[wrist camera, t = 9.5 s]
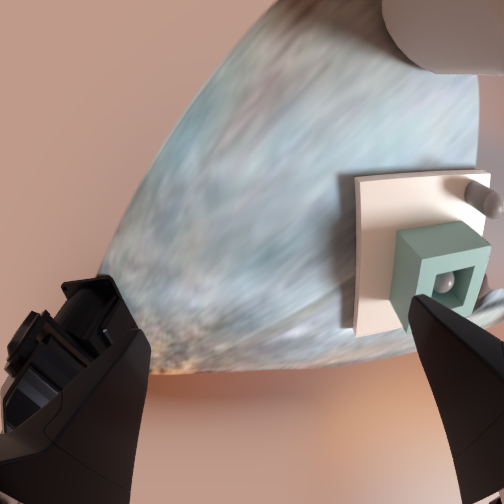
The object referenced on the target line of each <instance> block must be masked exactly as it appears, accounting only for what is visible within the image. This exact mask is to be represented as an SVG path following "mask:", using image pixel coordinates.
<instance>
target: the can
mask: <svg viewBox="0 0 504 504" xmlns="http://www.w3.org/2000/svg"><path fill="white" fill-rule="evenodd" d="M382 16H383V19H384V22H385V25H386V28H387V31H388V32H389V34H390V35H391V37H392V39H393V40H394V42H395V43H396V45H397V46H398V47H399V49H400V50H401V51H402V52H403V53H404V54H405V55H406V56H407V57H408V58H409V59H410V60H411V61H413V62H414V63H416V64H417V65H418V66H420V67H421V68H423V69H425V70H428V71H430V72H433V73H435V74H472V75H493V76H504V0H382Z"/></svg>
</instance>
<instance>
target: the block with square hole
mask: <svg viewBox="0 0 504 504" xmlns="http://www.w3.org/2000/svg"><path fill="white" fill-rule="evenodd" d="M491 247H492V245H491V244H490V243H489V242H488V241H486V240H485V239H484V238H483V237H482V236H481V235H479V234H478V233H477V232H476V231H475V230H473V229H472V228H471V227H470V226H468V225H467V224H466V223H465V222H463V221H458V222H451V223H444V224H437V225H430V226H422V227H415V228H408V229H401V230H396V244H395V255H394V265H393V274H392V282H391V290H390V297H389V301H390V303H391V305H392V307H393V309H394V310H395V312H396V314H397V316H398V318H399V320H400V322H401V324H402V326H403V328H404V330H405V332H406V334H408V333H412V331H411V328H410V325H409V322H408V312H409V308H410V303H411V299H412V297H413V296H415V295H419V294H425V295H427V296H429V297H431V298H432V299H434V300H436V301H437V302H439V303H441V304H443V305H444V306H446V307H448V308H449V309H451V310H453V311H455V312H456V313H458V314H460V315H461V316H463V317H466V316H469V315H471V313H472V310H473V308H474V305H475V302H476V299H477V296H478V293H479V290H480V287H481V284H482V281H483V277H484V274H485V270H486V267H487V263H488V259H489V255H490V251H491ZM451 271H452V272H453V274H454V284H453V286H452V288H451V289H450V290H449V291H447V292H445V293H439V292H436V291H435V290H434V289H433V287H434V283H435V278H436V275H437V274H442V273H446V272H451Z"/></svg>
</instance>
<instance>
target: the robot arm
mask: <svg viewBox="0 0 504 504" xmlns="http://www.w3.org/2000/svg"><path fill="white" fill-rule="evenodd" d="M107 281H108V282H109V283H108V282H107ZM61 288H62V290H63V292H64V294H65V296H66V298H67V301H66V302H65V304H64V305H63V306H62V308H61V309H60V310H59V312H58V313H57V315H56V316H55V318H54V319H53V318H52V317H51V316H50V313H48V311H47V310H45V311H44V312H42V314H41V315H40V314H39V313H36V312H33V311H31V312H30V313H29V315H28V316H27V317H26V319H25V320H24V321H23V323H22V324H21V325H20V327H19V328H18V330H17V331H16V333H15V334H14V336H13V338H12V339H11V341H10V342H9V344H8V346H7V350H8V358H7V363H6V365H5V368H4V370H5V371H6V372H7V373H8V374H9V376H8V377H7V379H6V381H5V382H4V384H3V386H2V388H1V392H0V393H1V394H0V395H1V418H2V432H1V434H0V504H129V503H130V491H131V484H132V476H133V468H134V461H135V455H136V448H137V442H138V435H139V430H140V424H141V419H142V413H143V408H144V403H145V398H146V392H147V386H148V376H149V366H150V356H151V347H150V344H149V342H148V340H147V338H146V337H145V335H144V333H143V331H142V330H141V329H138V326H137V325H136V323H135V321H134V319H133V317H132V315H131V314H130V312H129V310H128V308H127V306H126V304H125V302H124V300H123V298H122V296H121V294H120V292H119V290H118V288H117V286H116V284H115V282H114V280H113V279H112V278H111V277H109V276H105V277H98V278H91V279H84V280H77V281H69V282H64V283H63V284H62V285H61ZM408 322H409V325H410V328H411V331H412V335H413V338H414V341H415V345H416V348H417V352H418V354H419V358H420V361H421V363H422V366H423V368H424V371H425V374H426V376H427V379H428V381H429V384H430V387H431V390H432V392H433V395H434V398H435V401H436V404H437V407H438V410H439V413H440V416H441V419H442V422H443V425H444V429H445V432H446V435H447V439H448V442H449V446H450V450H451V453H452V457H453V461H454V466H455V470H456V474H457V479H458V484H459V489H460V494H461V499H462V504H473V503H476V502H478V501H480V500H482V499H484V498H486V497H488V496H490V495H492V494H494V493H496V492H498V491H499V494H500V496H499V497H497V498H496V499H494V500H492V501H491V502H490V503H489V504H504V342H503V341H500V339H498V338H497V337H495V336H494V335H492V334H490V333H489V332H487V331H486V330H484V329H483V328H481V327H479V326H478V325H476V324H474V323H473V322H471V321H469V320H468V319H466V318H465V317H463V316H461V315H460V314H458V313H456V312H455V311H453V310H451V309H449V308H448V307H446V306H444V305H443V304H441V303H439V302H437V301H436V300H434V299H432V298H431V297H429V296H427V295H425V294H419V295H415V296H413V297H412V299H411V303H410V308H409V312H408Z"/></svg>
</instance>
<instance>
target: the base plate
mask: <svg viewBox="0 0 504 504" xmlns="http://www.w3.org/2000/svg"><path fill="white" fill-rule="evenodd" d="M354 181H355V203H356V280H355V302H354V317H353V331H354V334H355V337H361V336H366V335H371V334H376V333H381V332H385V331H389V330H394V329H398V328H402V327H403V326H402V324H401V322H400V320H399V318H398V316H397V314H396V312H395V310H394V309H393V307H392V305H391V303H390V301H389V297H390V290H391V282H392V274H393V265H394V255H395V244H396V230H401V229H408V228H415V227H422V226H430V225H437V224H444V223H451V222H458V221H463V222H465V223H466V224H467V225H468V226H470V227H471V228H472V229H473V230H475V231H476V232H477V233H478V234H479V235H481V236H482V234H483V228H484V223H485V217H488V218H490V219H497V218H499V217H500V216H501V215H502V213H503V210H504V202H503V199H502V197H501V196H500V195H499V194H498V193H497V192H495V191H494V190H492V189H490V188H489V185H490V173H488V172H486V171H484V170H445V171H425V172H409V173H395V174H382V175H371V176H360V177H354ZM453 284H454V274H453V272H452V271H451V272H446V273H442V274H437V275H436V278H435V283H434V287H433V289H434V290H435V291H436V292H439V293H445V292H447V291H449V290H450V289H451V288H452V286H453Z"/></svg>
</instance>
